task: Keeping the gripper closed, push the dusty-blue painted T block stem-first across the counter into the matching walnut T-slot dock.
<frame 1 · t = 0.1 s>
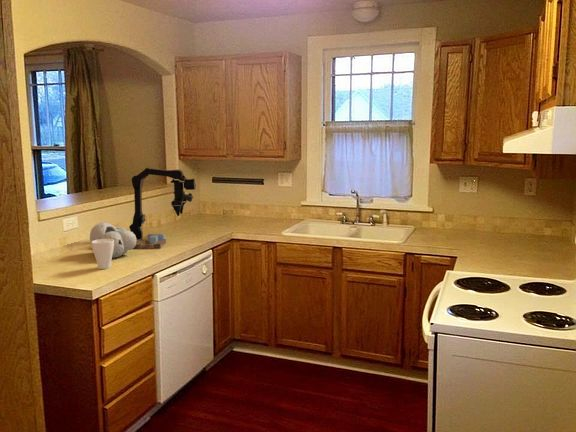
hand: (179, 214, 328), 15 cm above the worktop, tool pointing down, fingers open, 9 cm apart
t block: (156, 240, 323), on the worktop
dock: (151, 245, 310), on the worktop
grey lobed sculpture: (112, 255, 287), on the worktop
cup: (104, 268, 261), on the worktop
light bulb box: (117, 246, 308), on the worktop
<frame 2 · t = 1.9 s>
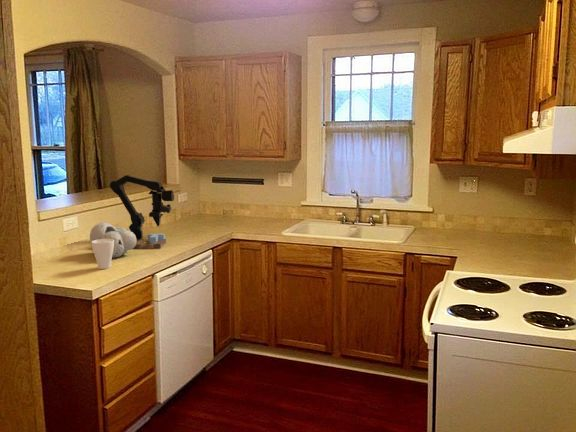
hand: (158, 225, 328), 8 cm above the worktop, tool pointing down, fingers closed
nothing on the worktop moved.
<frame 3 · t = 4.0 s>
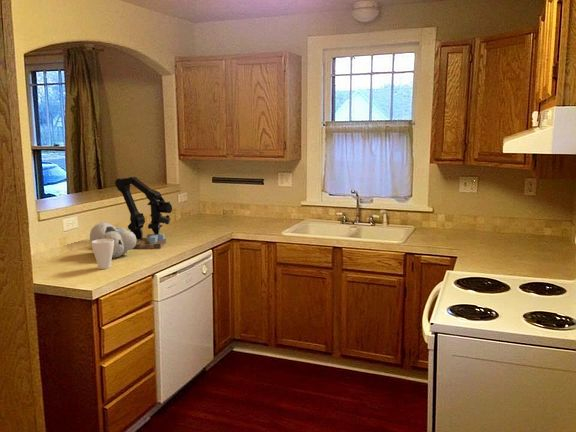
hand: (157, 237, 325), 2 cm above the worktop, tool pointing down, fingers closed
t block: (156, 240, 322), on the worktop, touching gripper
everything else where it was.
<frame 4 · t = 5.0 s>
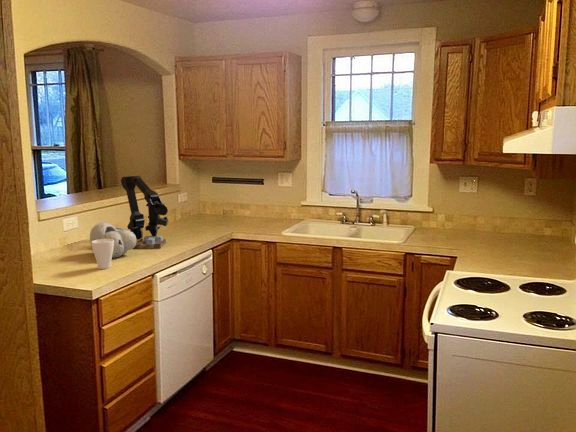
hand: (155, 239, 319), 2 cm above the worktop, tool pointing down, fingers closed
t block: (153, 243, 316), on the worktop, touching gripper
everything else where it was.
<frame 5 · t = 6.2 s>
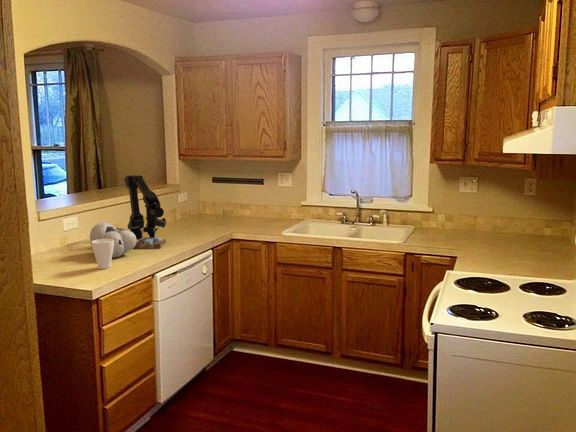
hand: (153, 240, 315), 2 cm above the worktop, tool pointing down, fingers closed
t block: (151, 244, 312), on the worktop, touching dock, gripper
everything else where it was.
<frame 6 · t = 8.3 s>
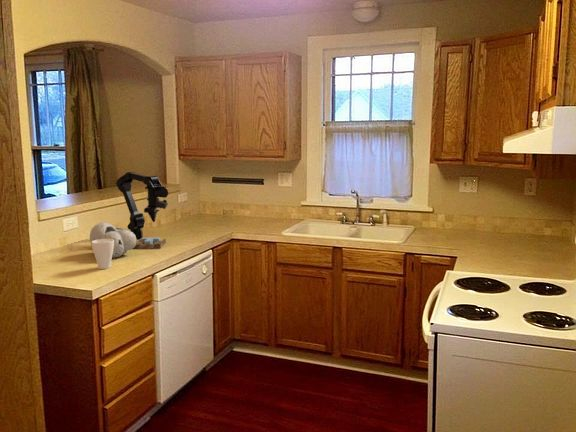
hand: (153, 221, 320), 12 cm above the worktop, tool pointing down, fingers closed
t block: (151, 244, 312), on the worktop
everything else where it was.
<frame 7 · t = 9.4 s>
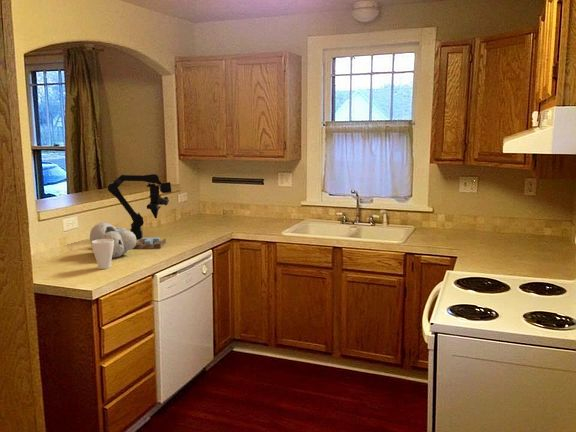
hand: (155, 218, 333), 12 cm above the worktop, tool pointing down, fingers closed
nothing on the worktop moved.
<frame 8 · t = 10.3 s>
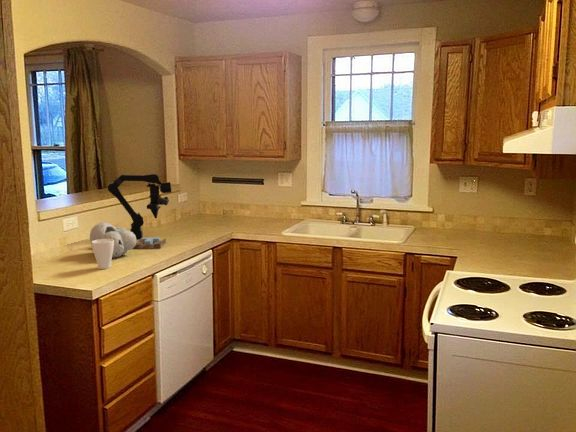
hand: (155, 218, 333), 12 cm above the worktop, tool pointing down, fingers closed
nothing on the worktop moved.
at the end: t block 0.6 cm from the target spot on the dock, point 0.0 cm above the dock's base; t block tilted 0° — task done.
